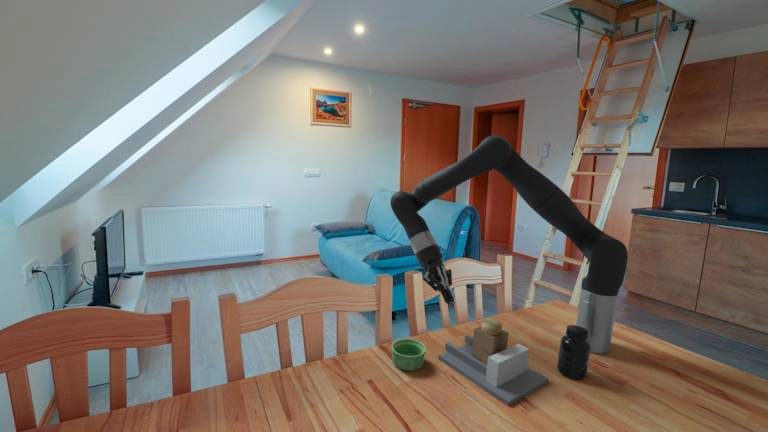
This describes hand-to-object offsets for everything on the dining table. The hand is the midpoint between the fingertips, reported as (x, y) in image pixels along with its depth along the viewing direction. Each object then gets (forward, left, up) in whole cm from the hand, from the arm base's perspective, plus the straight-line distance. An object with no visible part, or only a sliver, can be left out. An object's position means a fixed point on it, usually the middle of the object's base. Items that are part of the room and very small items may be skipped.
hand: (450, 302), depth 106 cm
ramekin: (+18, +3, -12) cm, 22 cm away
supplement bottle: (-15, +29, -12) cm, 35 cm away
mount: (+2, +17, -12) cm, 20 cm away
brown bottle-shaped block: (+2, +16, -10) cm, 19 cm away
